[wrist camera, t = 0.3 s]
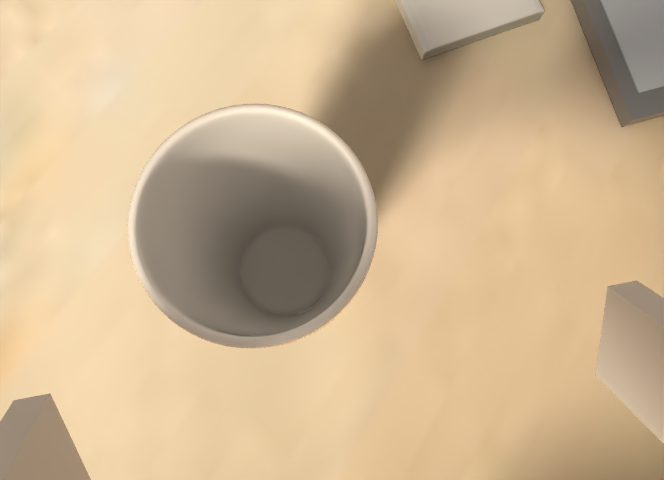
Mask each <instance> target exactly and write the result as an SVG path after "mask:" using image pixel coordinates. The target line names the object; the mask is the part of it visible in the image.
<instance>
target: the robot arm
mask: <svg viewBox="0 0 664 480" xmlns="http://www.w3.org/2000/svg"><path fill="white" fill-rule="evenodd" d="M595 375H596V376H597V377H598V378H599V379H600V380H601V381H602V382H603V383H604V384H605V385H606V386H607V387H608V388H609V389H610V390H611V391H612V392H613V393H614V395H615V396H616V397H617V398H618V399H619V400H620V401H621V402H622V403H623V404H624V405H625V406H626V407H627V408H628V409H629V410H630V411H631V412H632V413H633V414H634V415H635V416H636V417H637V418H638V419H639V420H640V421H641V422H642V423H643V424H644V425H645V426H646V427H647V428H648V429H649V430H650V431H651V432H652V433H653V434H654V435H655V436H656V437H657V438H658V439H659V440H660V441H661V442H662V443H663V444H664V298H662V297H661V296H659V295H658V294H656V293H655V292H653V291H652V290H650V289H649V288H647V287H646V286H644V285H643V284H641V283H640V282H638V281H633V282H628V283H623V284H617V285H612V286H608V288H607V295H606V303H605V310H604V317H603V324H602V331H601V338H600V346H599V353H598V360H597V367H596V374H595ZM0 480H91V479H90V477H89V475H88V473H87V471H86V469H85V466H84V464H83V462H82V460H81V458H80V456H79V454H78V452H77V449H76V447H75V445H74V443H73V441H72V439H71V437H70V435H69V432H68V430H67V428H66V426H65V424H64V422H63V420H62V418H61V415H60V413H59V411H58V409H57V407H56V405H55V403H54V401H53V398H52V396H51V394H45V395H40V396H35V397H30V398H25V399H19V400H14V401H13V403H12V404H11V406H10V407H9V409H8V410H7V412H6V414H5V415H4V417H3V418H2V420H1V421H0Z"/></svg>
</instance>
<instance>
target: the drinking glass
mask: <svg viewBox="0 0 664 480" xmlns="http://www.w3.org/2000/svg"><path fill="white" fill-rule="evenodd" d="M377 233H378V216H377V206H376V201H375V196H374V192H373V189H372V186H371V183H370V180H369V178H368V175H367V173H366V171H365V169H364V167H363V165H362V164H361V162H360V161H359V159H358V157H357V156H356V154H355V153H354V152H353V151H352V149H351V148H350V147H349V146H348V145H347V144H346V142H345V141H344V140H343V139H342V138H341V137H340V136H338V135H337V134H336V133H335V132H334V131H333V130H331V129H330V128H329V127H327V126H326V125H324V124H323V123H321V122H319V121H318V120H316V119H314V118H312V117H310V116H308V115H306V114H304V113H301V112H299V111H296V110H293V109H290V108H285V107H281V106H276V105H269V104H241V105H234V106H229V107H224V108H220V109H217V110H214V111H211V112H208V113H206V114H204V115H201V116H199V117H197V118H195V119H193V120H192V121H190V122H188V123H186V124H185V125H183V126H182V127H180V128H179V129H178V130H176V131H175V132H174V133H173V134H172V135H170V136H169V137H168V138H167V139H166V140H165V141H164V142H163V143H162V144H161V145H160V146H159V147H158V148H157V150H156V151H155V152H154V153H153V155H152V156H151V157H150V159H149V160H148V162H147V163H146V165H145V167H144V168H143V170H142V172H141V174H140V176H139V178H138V181H137V183H136V185H135V188H134V191H133V194H132V198H131V202H130V207H129V214H128V243H129V249H130V254H131V259H132V262H133V265H134V268H135V271H136V273H137V276H138V278H139V280H140V282H141V284H142V286H143V287H144V289H145V291H146V293H147V294H148V295H149V297H150V298H151V300H152V301H153V302H154V303H155V305H156V306H157V307H158V308H159V309H160V310H161V311H162V312H163V313H164V314H165V315H166V316H167V317H168V318H169V319H170V320H172V321H173V322H174V323H175V324H177V325H178V326H179V327H181V328H183V329H184V330H186V331H188V332H189V333H191V334H193V335H195V336H197V337H199V338H201V339H204V340H207V341H210V342H212V343H216V344H220V345H224V346H229V347H236V348H266V347H273V346H279V345H284V344H288V343H291V342H295V341H297V340H300V339H303V338H305V337H307V336H309V335H311V334H313V333H315V332H317V331H318V330H320V329H322V328H323V327H325V326H326V325H327V324H329V323H330V322H331V321H333V320H334V319H335V318H336V317H337V316H338V315H339V314H340V313H341V312H342V311H343V310H344V309H345V308H346V307H347V305H348V304H349V303H350V302H351V300H352V299H353V297H354V296H355V295H356V293H357V291H358V290H359V288H360V286H361V284H362V283H363V281H364V279H365V277H366V275H367V273H368V270H369V268H370V265H371V262H372V259H373V256H374V252H375V247H376V241H377Z"/></svg>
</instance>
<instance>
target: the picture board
mask: <svg viewBox="0 0 664 480" xmlns="http://www.w3.org/2000/svg"><path fill="white" fill-rule="evenodd" d="M571 2H572V4H573V7H574V9H575V12H576V14H577V17H578V19H579V22H580V24H581V27H582V29H583V32H584V34H585V37H586V39H587V42H588V44H589V47H590V49H591V52H592V54H593V57H594V59H595V62H596V64H597V67H598V69H599V72H600V74H601V77H602V79H603V82H604V84H605V87H606V89H607V92H608V94H609V97H610V99H611V102H612V104H613V107H614V109H615V112H616V114H617V117H618V119H619V122H620V124H621V127H624V126H627V125H631V124H635V123H638V122H642V121H646V120H649V119H653V118H656V117H660V116H664V0H571Z"/></svg>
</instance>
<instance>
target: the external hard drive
mask: <svg viewBox="0 0 664 480" xmlns="http://www.w3.org/2000/svg"><path fill="white" fill-rule="evenodd" d="M395 2H396V4H397V6H398V9H399V11H400V13H401V15H402V18H403V20H404V22H405V24H406V27H407V29H408V31H409V34H410V36H411V38H412V40H413V43H414V45H415V47H416V49H417V51H418V54H419V56H420V59H421V60H423V59H426V58H429V57H432V56H435V55H438V54H441V53H444V52H446V51H449V50H452V49H455V48H458V47H461V46H464V45H467V44H470V43H473V42H475V41H478V40H481V39H484V38H487V37H490V36H493V35H496V34H499V33H502V32H504V31H507V30H510V29H513V28H516V27H519V26H522V25H525V24H528V23H531V22H534V21H537V20H539V19H540V17H541V16H542V14H543V13H544V9H543V7H542V5H541V3H540V1H539V0H395Z"/></svg>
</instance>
